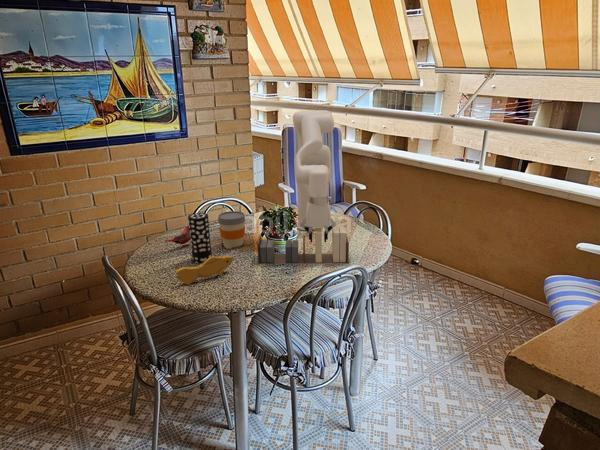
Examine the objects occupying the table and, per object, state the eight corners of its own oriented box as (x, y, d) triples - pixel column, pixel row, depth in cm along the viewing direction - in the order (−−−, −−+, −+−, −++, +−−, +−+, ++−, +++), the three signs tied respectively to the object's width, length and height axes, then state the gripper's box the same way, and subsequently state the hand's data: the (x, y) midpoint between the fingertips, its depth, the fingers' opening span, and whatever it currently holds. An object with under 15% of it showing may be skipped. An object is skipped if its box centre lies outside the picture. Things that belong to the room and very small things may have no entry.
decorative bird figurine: (198, 242, 197) (196, 223, 194) (167, 254, 185) (164, 233, 181) (195, 241, 199) (193, 221, 196) (163, 252, 186) (161, 232, 183)
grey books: (262, 255, 179) (261, 240, 176) (298, 254, 178) (298, 239, 176) (260, 262, 171) (259, 247, 169) (298, 262, 170) (297, 247, 168)
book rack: (260, 256, 180) (259, 235, 177) (346, 255, 178) (347, 234, 175) (257, 265, 170) (256, 243, 167) (348, 265, 169) (349, 243, 165)
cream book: (315, 254, 177) (315, 226, 173) (321, 254, 177) (321, 226, 173) (315, 262, 170) (315, 233, 166) (321, 262, 170) (321, 233, 165)
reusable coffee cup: (229, 238, 201) (227, 209, 196) (251, 242, 196) (250, 212, 191) (214, 248, 190) (212, 217, 185) (237, 252, 185) (235, 220, 180)
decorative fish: (233, 267, 166) (226, 246, 162) (236, 270, 164) (229, 249, 159) (182, 291, 159) (173, 270, 154) (184, 294, 156) (175, 273, 152)
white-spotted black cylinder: (215, 257, 180) (211, 214, 173) (204, 264, 173) (200, 220, 166) (200, 254, 184) (196, 212, 177) (188, 261, 176) (183, 217, 170)
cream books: (332, 254, 177) (332, 226, 173) (344, 254, 177) (344, 226, 173) (333, 262, 170) (333, 233, 165) (345, 262, 169) (346, 233, 165)
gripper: (338, 196, 168) (338, 237, 174) (297, 197, 169) (298, 238, 175) (340, 202, 161) (339, 244, 167) (297, 202, 162) (297, 244, 168)
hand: (318, 240), depth 171 cm, fingers open, 5 cm apart
